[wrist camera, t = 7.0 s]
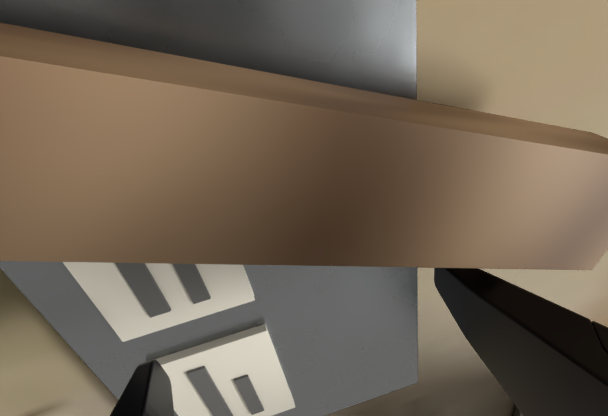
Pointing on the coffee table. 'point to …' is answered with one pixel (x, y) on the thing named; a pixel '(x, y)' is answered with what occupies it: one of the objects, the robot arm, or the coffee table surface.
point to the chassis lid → (263, 278)
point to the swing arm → (275, 169)
